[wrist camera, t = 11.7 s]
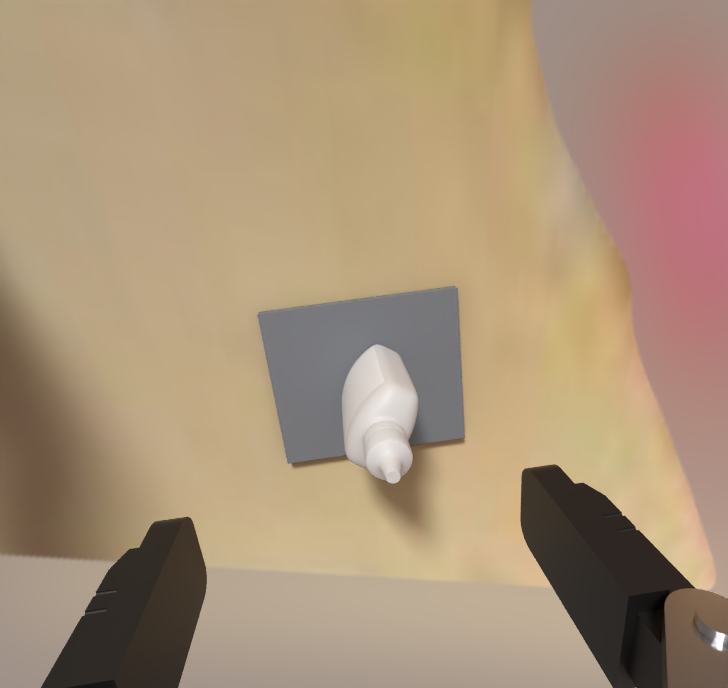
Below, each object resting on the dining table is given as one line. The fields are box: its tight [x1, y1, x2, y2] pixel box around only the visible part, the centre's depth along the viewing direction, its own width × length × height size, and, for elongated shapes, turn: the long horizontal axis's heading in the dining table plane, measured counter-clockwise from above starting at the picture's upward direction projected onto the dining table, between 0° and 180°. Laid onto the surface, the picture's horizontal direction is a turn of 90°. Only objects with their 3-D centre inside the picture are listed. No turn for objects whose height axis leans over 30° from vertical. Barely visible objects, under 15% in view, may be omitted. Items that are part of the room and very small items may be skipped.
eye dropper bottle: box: [342, 344, 418, 484], centre depth 26 cm, size 4×6×12 cm
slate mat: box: [258, 286, 465, 464], centre depth 32 cm, size 14×12×1 cm
